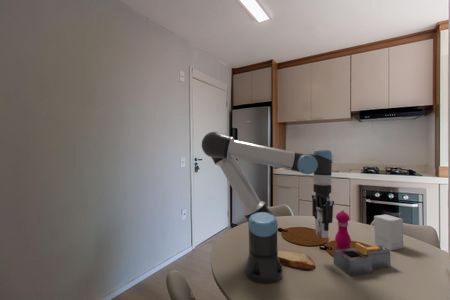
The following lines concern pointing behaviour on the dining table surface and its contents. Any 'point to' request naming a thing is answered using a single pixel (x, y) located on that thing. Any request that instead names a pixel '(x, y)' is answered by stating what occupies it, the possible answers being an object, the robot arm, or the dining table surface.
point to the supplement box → (388, 232)
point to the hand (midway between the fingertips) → (321, 235)
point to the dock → (361, 260)
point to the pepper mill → (342, 231)
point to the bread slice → (296, 260)
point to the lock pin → (365, 248)
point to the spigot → (319, 221)
